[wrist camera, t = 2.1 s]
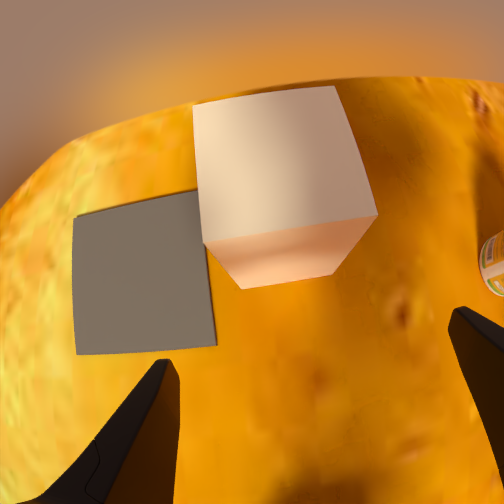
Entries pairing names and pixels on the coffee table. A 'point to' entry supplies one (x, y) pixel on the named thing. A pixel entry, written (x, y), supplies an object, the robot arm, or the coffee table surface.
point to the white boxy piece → (280, 185)
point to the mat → (141, 278)
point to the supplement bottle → (493, 263)
